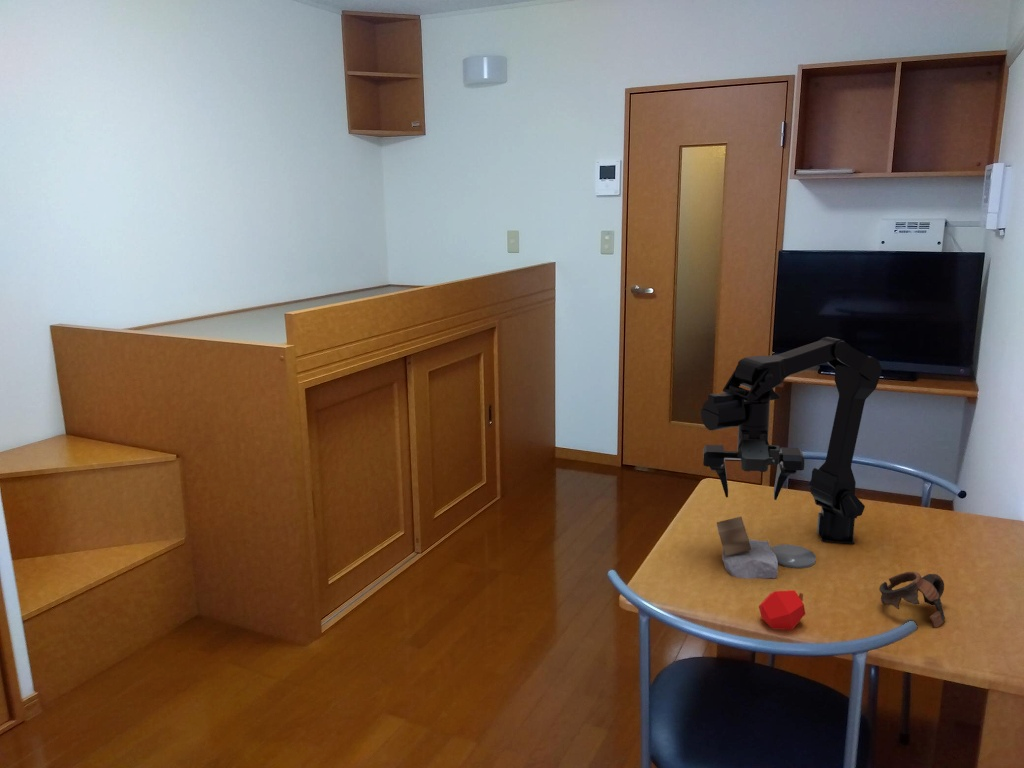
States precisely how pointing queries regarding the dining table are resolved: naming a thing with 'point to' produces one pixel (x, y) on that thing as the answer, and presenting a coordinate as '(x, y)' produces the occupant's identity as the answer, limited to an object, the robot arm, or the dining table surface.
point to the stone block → (752, 562)
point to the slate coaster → (793, 556)
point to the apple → (782, 609)
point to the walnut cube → (733, 536)
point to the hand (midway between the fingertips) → (750, 497)
